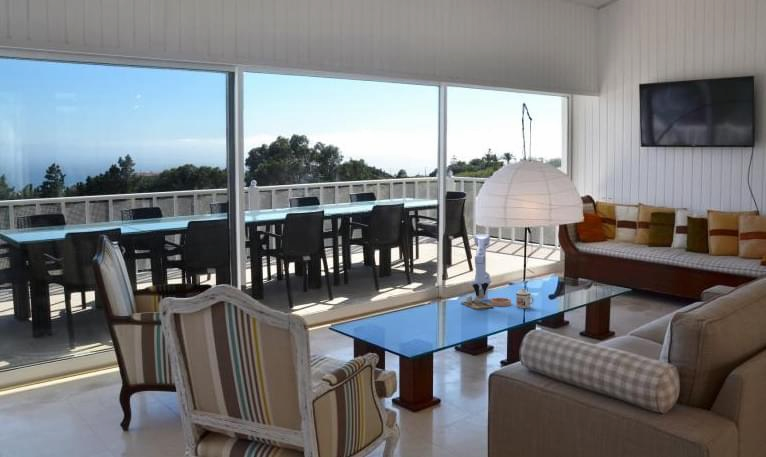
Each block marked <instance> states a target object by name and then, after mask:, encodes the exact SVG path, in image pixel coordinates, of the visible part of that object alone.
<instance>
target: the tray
mask: <svg viewBox="0 0 766 457" xmlns="http://www.w3.org/2000/svg"><path fill="white" fill-rule="evenodd" d="M460 305H463V306H465V307H467V308H470V309H473V310H475V311H480V310H482V311H483V310H488V309H489V310H490V309H495V306H493V305H491V304H490V303H487V302H484V301H483V300H480V304H479V305H476V304H474V300H472V305H468V304H466V301H461V302H460Z"/></svg>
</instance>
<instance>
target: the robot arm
mask: <svg viewBox="0 0 766 457" xmlns="http://www.w3.org/2000/svg"><path fill="white" fill-rule="evenodd" d="M490 237H491V236H490V234H486V233H485V234H483V233H482V234H474V236H473V238H474V245H475V247H477V248H476V252H475V256H474V266H475V275H474V280H473V281H469V286H472V288H473V289H474V295H476V296H479V289H484V298H480V301H487V300H489V301H490V298H489V287H490V286H491V283H492V280H491V278H490V276H491V275H490V274H489V272H487V270H486V266H487V265H486V263H487V262H486V261H487V259H486V258H487V257H486V256H487V255H486V254H487V251H486V250H487V247H489V246H490V239H491V238H490Z"/></svg>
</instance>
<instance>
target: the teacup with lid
mask: <svg viewBox="0 0 766 457" xmlns="http://www.w3.org/2000/svg"><path fill="white" fill-rule="evenodd" d="M515 294H516V299H515V305H516V307H517V308H518V309H530V307H531V305H533V304H534V301H535V300H534V297H533V296H531V292H530V291H528V290H526V288H521V290H518V291H517V292H516V293H515Z"/></svg>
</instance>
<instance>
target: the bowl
mask: <svg viewBox="0 0 766 457" xmlns="http://www.w3.org/2000/svg"><path fill="white" fill-rule="evenodd" d="M489 304H490V305H492V306H494V307H508V306H511V305H512V299H510V298H507V297H492V298H490V299H489Z"/></svg>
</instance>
